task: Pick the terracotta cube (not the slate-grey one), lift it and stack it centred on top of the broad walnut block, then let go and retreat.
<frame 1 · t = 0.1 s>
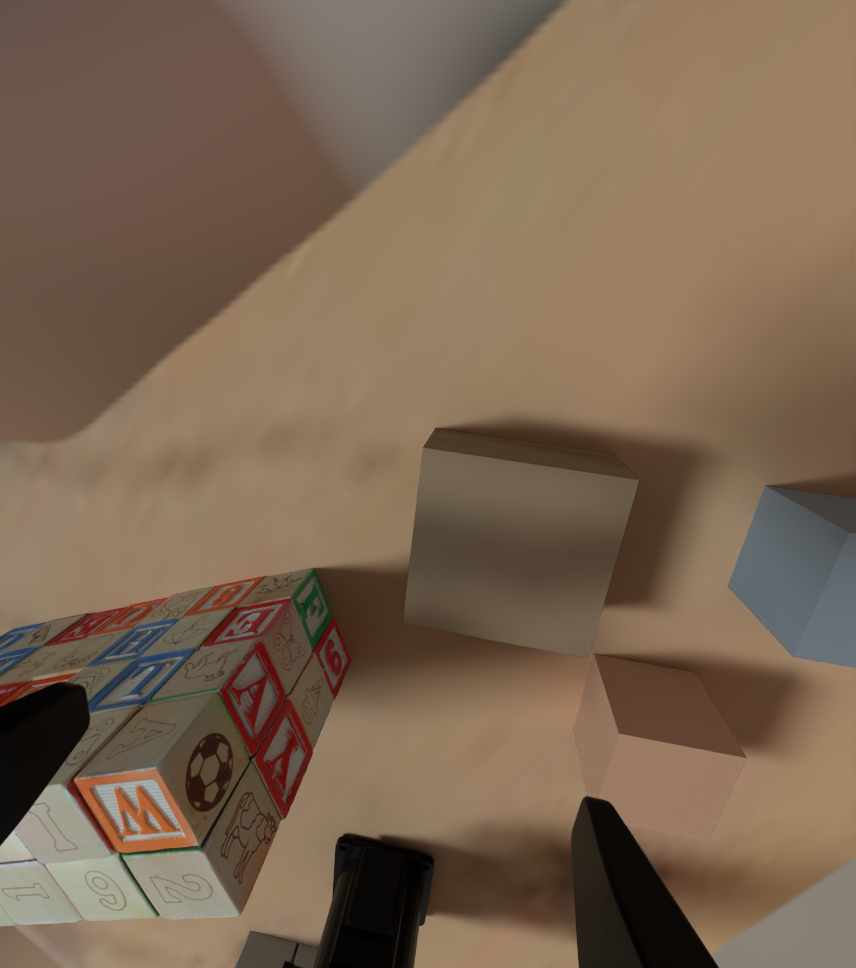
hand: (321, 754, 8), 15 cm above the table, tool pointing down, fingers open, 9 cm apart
slate cube: (803, 546, 20), on the table
stack of blocks: (176, 640, 27), on the table
walnut base block: (507, 519, 22), on the table
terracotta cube: (631, 700, 24), on the table
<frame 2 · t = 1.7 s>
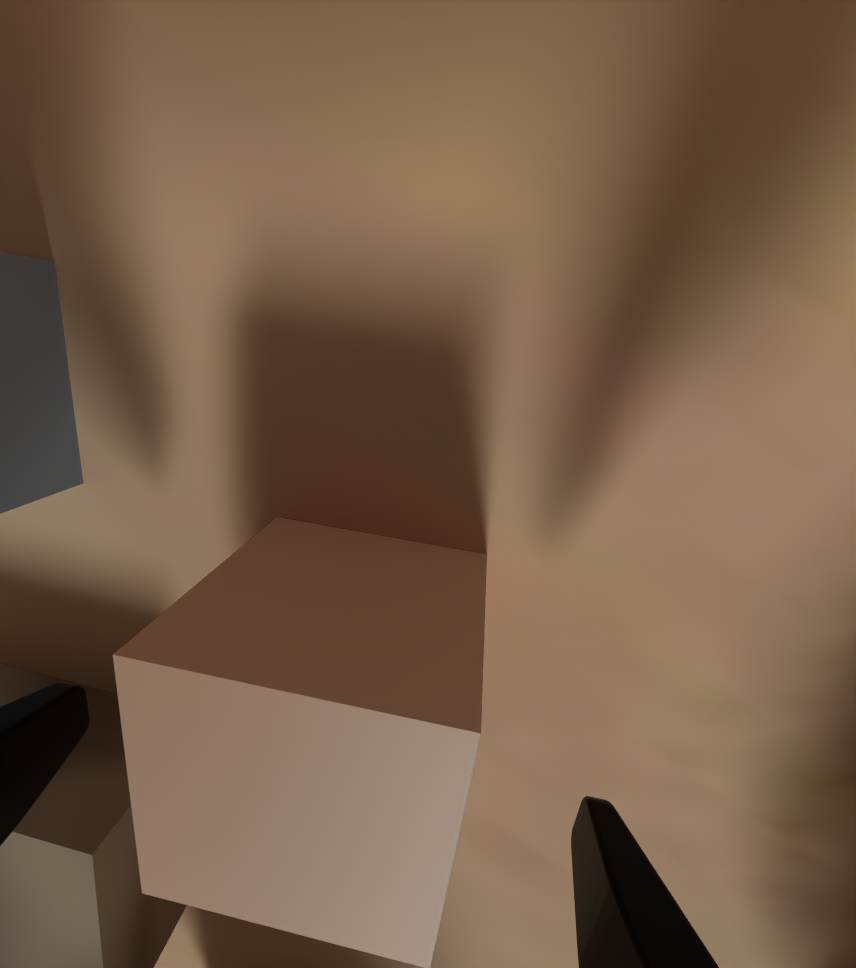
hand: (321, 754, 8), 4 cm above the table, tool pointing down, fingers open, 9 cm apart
walnut base block: (88, 770, 15), on the table
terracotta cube: (371, 623, 11), on the table
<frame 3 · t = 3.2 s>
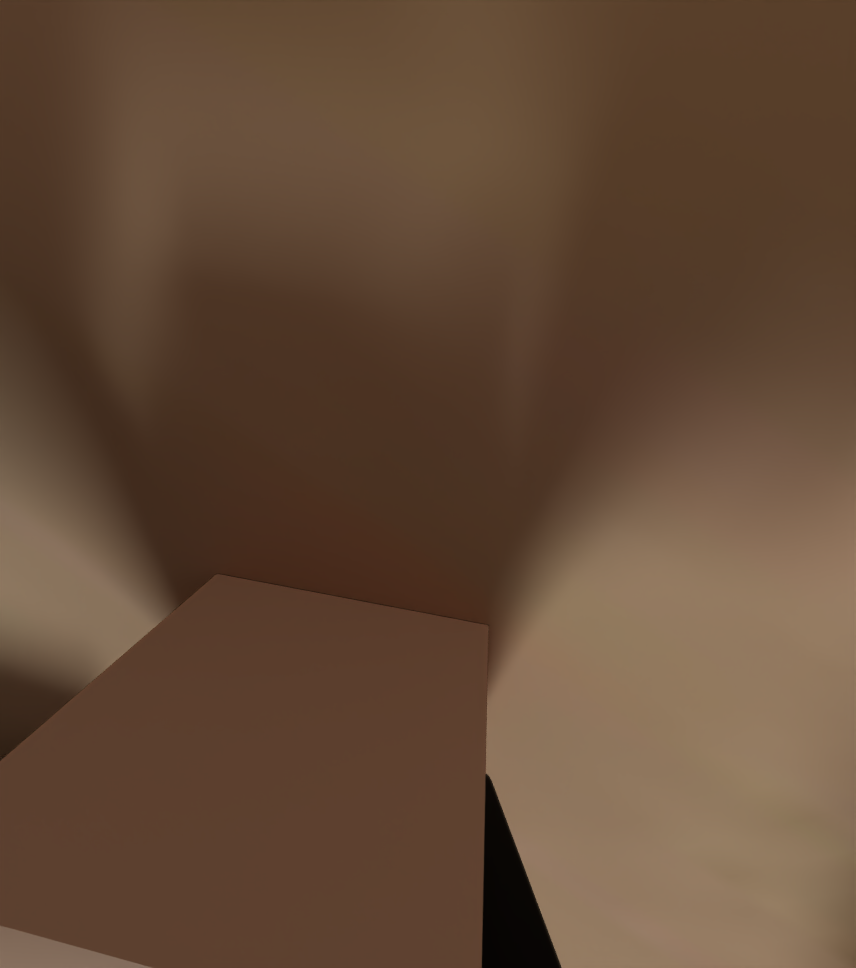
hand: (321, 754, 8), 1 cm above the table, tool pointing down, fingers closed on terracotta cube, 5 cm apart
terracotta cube: (340, 707, 9), on the table, touching gripper
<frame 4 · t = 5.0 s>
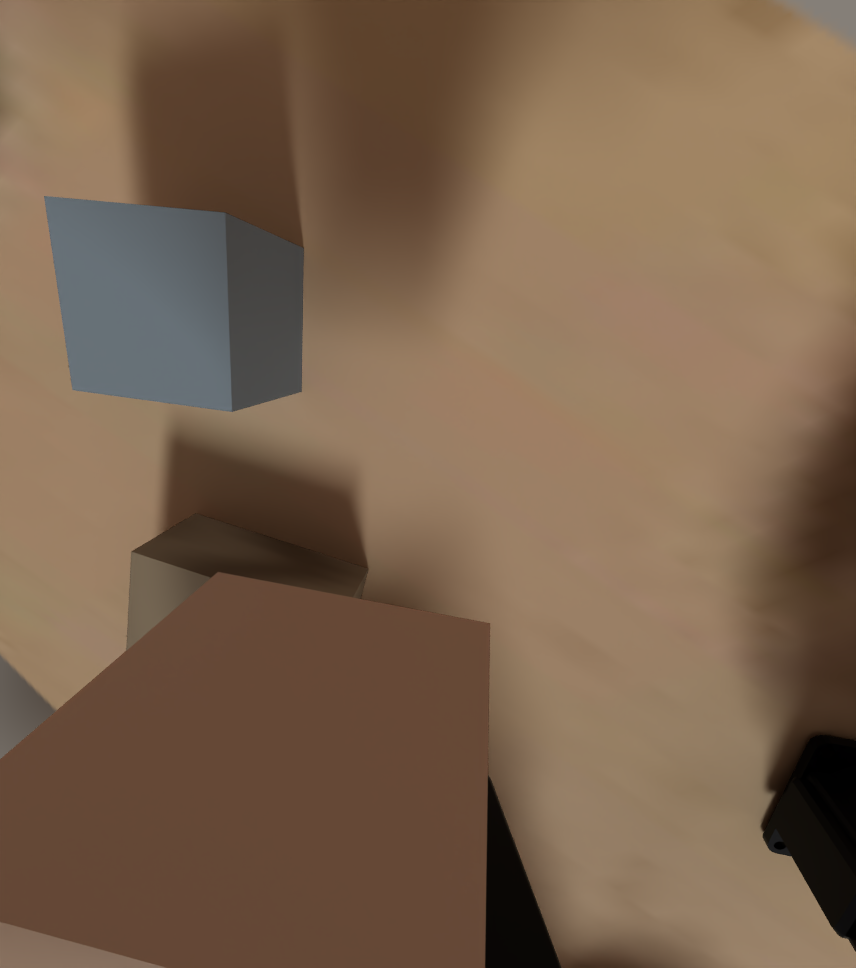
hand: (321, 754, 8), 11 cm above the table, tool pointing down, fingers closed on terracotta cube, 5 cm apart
slate cube: (239, 316, 17), on the table
walnut base block: (270, 611, 21), on the table
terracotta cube: (341, 706, 9), point 10 cm above the table, touching gripper
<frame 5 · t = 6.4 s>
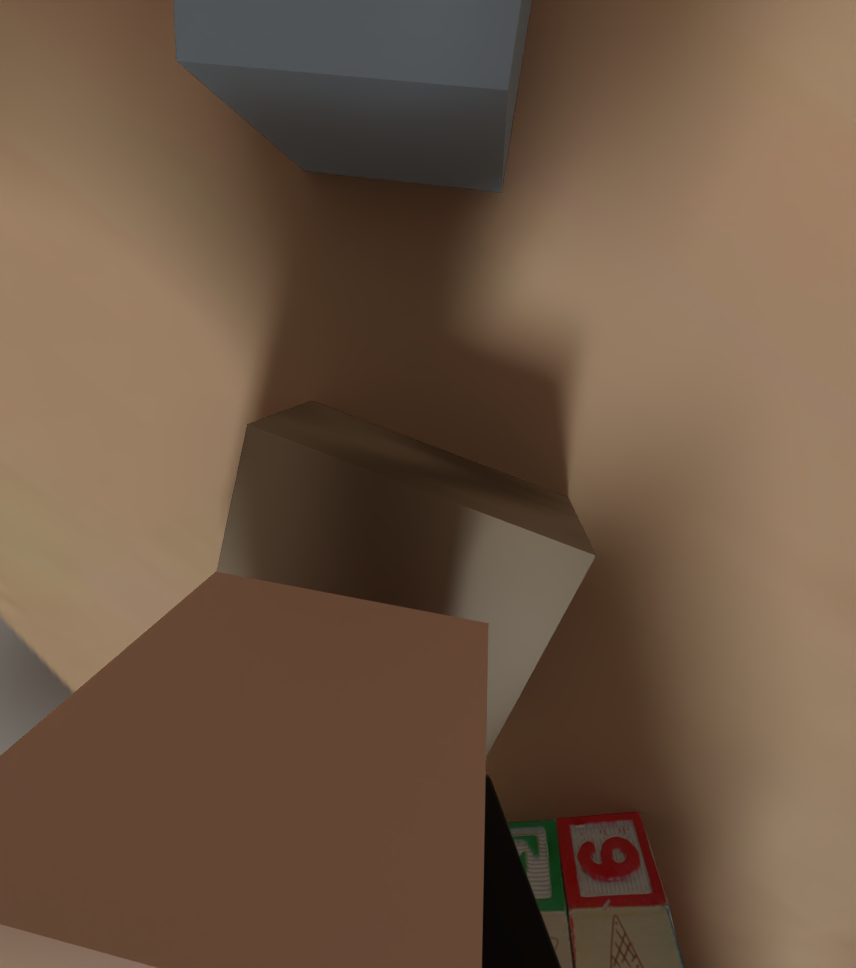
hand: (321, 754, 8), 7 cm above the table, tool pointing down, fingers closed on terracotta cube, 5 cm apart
slate cube: (413, 57, 11), on the table
walnut base block: (399, 557, 15), on the table
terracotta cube: (340, 706, 9), point 6 cm above the table, touching gripper
when the fingers open (6 cm above the table, at t = 7.3 s): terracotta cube drops 2 cm, resting on walnut base block.
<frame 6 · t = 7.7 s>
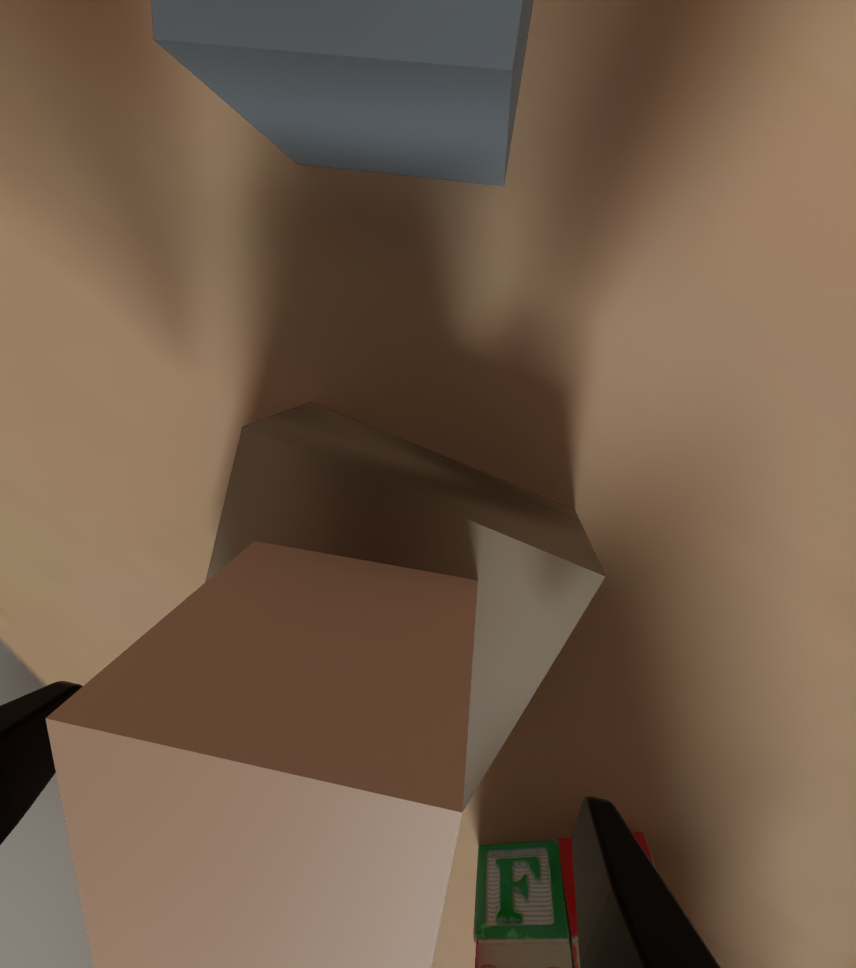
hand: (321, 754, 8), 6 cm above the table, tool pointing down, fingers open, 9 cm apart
slate cube: (411, 44, 10), on the table
walnut base block: (397, 566, 14), on the table, touching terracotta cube
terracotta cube: (355, 654, 11), point 4 cm above the table, touching walnut base block
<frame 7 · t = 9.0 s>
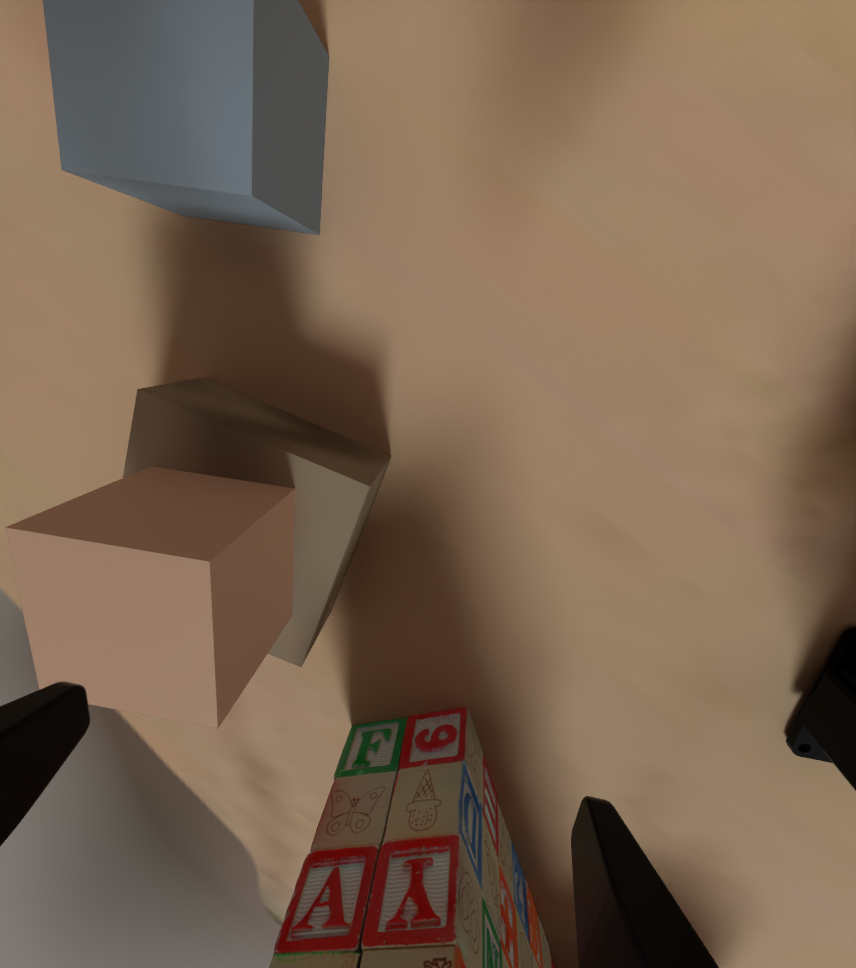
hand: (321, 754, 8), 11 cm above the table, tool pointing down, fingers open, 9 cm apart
slate cube: (252, 141, 15), on the table
stack of blocks: (465, 856, 26), on the table
walnut base block: (275, 500, 20), on the table, touching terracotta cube
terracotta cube: (224, 544, 16), point 4 cm above the table, touching walnut base block
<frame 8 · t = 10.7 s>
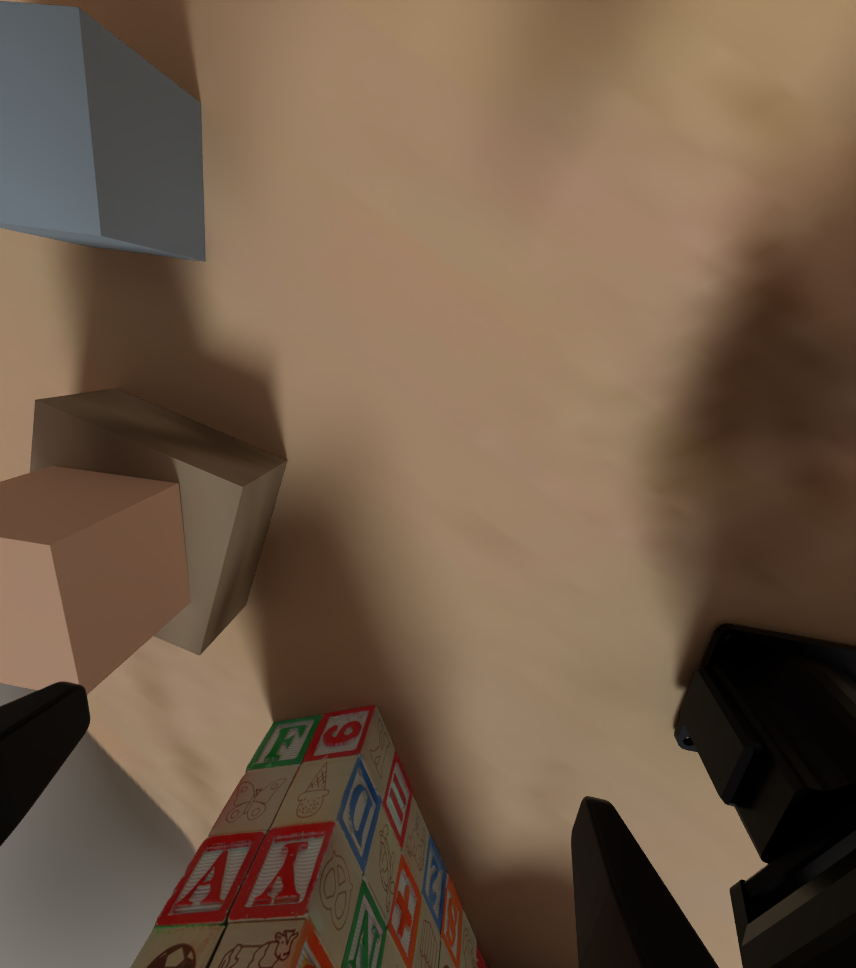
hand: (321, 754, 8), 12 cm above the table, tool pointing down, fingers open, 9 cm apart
slate cube: (141, 179, 17), on the table
stack of blocks: (391, 850, 27), on the table
walnut base block: (189, 501, 21), on the table, touching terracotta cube
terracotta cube: (124, 536, 17), point 4 cm above the table, touching walnut base block
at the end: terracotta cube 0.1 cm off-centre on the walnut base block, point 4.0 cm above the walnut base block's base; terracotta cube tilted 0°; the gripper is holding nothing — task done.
